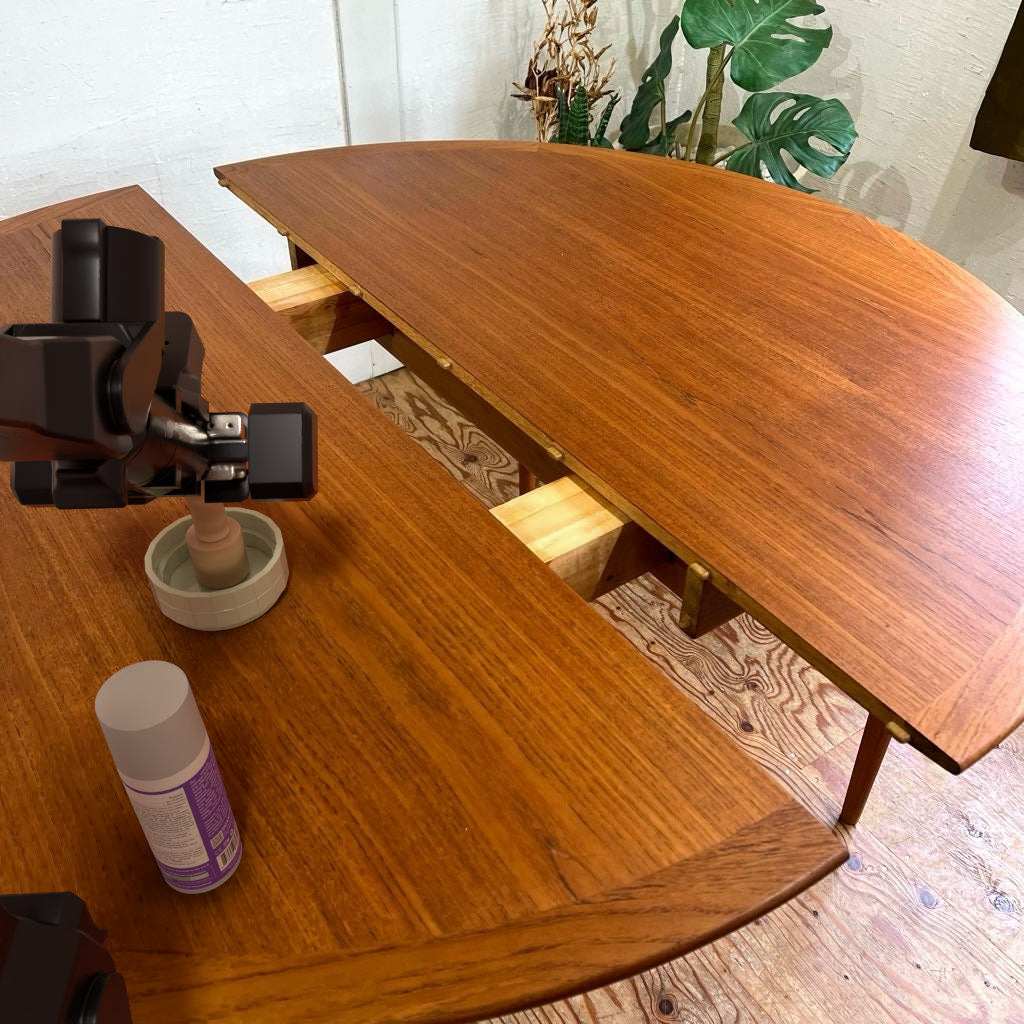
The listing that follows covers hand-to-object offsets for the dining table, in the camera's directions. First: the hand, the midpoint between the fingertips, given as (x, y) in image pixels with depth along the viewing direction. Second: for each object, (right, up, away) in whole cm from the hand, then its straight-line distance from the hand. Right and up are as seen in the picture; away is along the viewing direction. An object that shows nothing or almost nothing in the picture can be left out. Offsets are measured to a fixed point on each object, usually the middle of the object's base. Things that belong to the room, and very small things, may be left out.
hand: (204, 472), depth 70 cm
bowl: (0, -9, +5) cm, 10 cm away
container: (+4, -24, -13) cm, 27 cm away
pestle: (0, -7, +4) cm, 9 cm away
